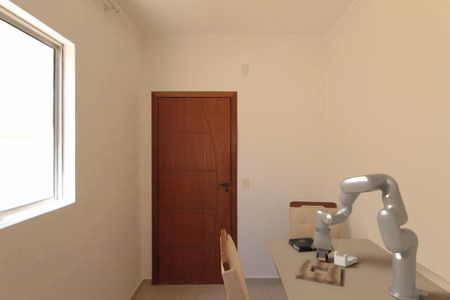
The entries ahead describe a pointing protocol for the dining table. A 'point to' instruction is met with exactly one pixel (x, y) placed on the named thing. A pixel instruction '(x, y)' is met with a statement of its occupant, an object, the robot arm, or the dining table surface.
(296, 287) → the dining table surface
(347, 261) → the bracket
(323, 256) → the block
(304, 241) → the portable cd player
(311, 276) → the plate
